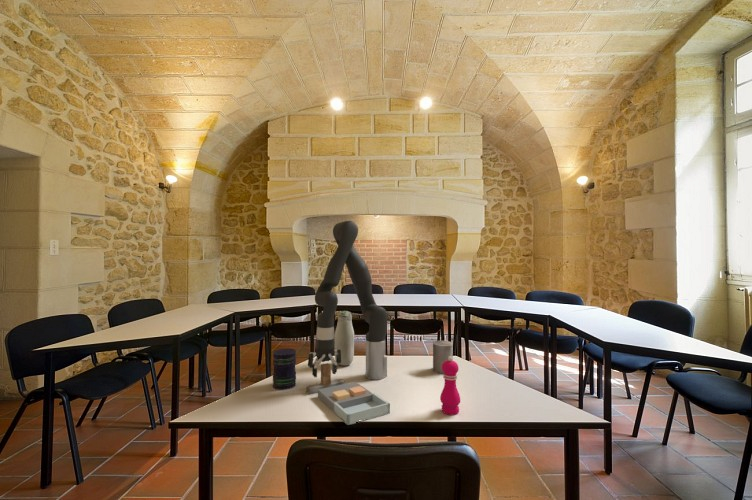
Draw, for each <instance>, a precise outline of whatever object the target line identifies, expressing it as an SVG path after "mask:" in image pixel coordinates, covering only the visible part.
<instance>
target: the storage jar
mask: <svg viewBox="0 0 752 500" xmlns="http://www.w3.org/2000/svg"><path fill="white" fill-rule="evenodd" d="M296 352H297V351H296V348H295V349H294V348H278V349H276V350H274V351H273V352H272V362H273V363H272V366H273V373H272V384H273V385H272V388H273V389H274V390H278V391H285V390H290V389H293V388H294V387H296V385H297V384H296V381H297V372H296V363H297V353H296Z"/></svg>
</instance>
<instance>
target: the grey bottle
mask: <svg viewBox="0 0 752 500" xmlns="http://www.w3.org/2000/svg"><path fill="white" fill-rule="evenodd" d="M352 317H353V314H352V313H351V311H348V310H340V312H338V314H337V323H336V324H337V325H336V328H335V330H334V350H336V349H337V348H338V349H340V350H341V363H339V364H338V365H340V366H343V367H345V366H350V365H351V364H352V363H353V361H354V357H355V330H354V327H353V322H352V320H353V319H352ZM334 359H335V361H336V354H335V353H334Z"/></svg>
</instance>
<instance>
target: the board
mask: <svg viewBox="0 0 752 500" xmlns="http://www.w3.org/2000/svg"><path fill="white" fill-rule="evenodd" d="M358 386H361V387H362V388H364V389H365V390H366V394H364V395H360V396H356V397H354V396H353V395H352V394H351V393H350V398H347V399H343V400H339V401H338V400H337V399H336V398H334V397H333V392H335V391H340V390H346V391H347V392H348V393H349V388H353V387H358ZM373 393H374V392H371V391H370V390H369V389H367V388H366V387H364V386H362V385H361V384H359V383H358V382H356V381H352V382H345V384H341V385H337V386H332V387H327V388H323V389H318V393H317V398H318V399H319V400H320V401H322V403H323V404H325V406H326V407H327V408H328V409H330V410H331V411H332V412H333V413H334V403H337V404H339V405H340V406H341V407H342V408H347V407H351V406H355V405H359V404H363V403H367V402H371V401H372V394H373Z"/></svg>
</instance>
